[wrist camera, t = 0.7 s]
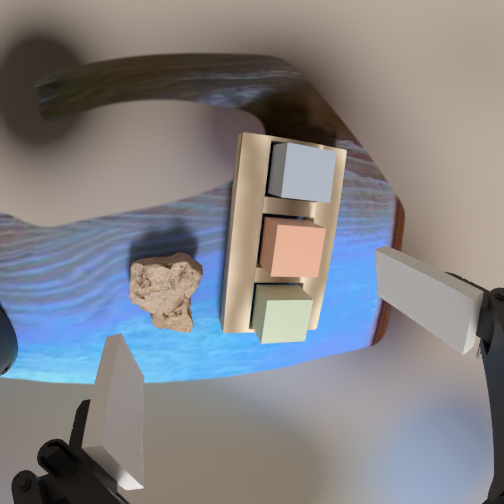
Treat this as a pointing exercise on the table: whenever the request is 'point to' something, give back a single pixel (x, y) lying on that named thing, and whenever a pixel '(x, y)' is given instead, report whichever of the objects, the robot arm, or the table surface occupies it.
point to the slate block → (302, 172)
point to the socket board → (249, 226)
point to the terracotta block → (291, 247)
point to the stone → (166, 289)
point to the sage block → (281, 313)
